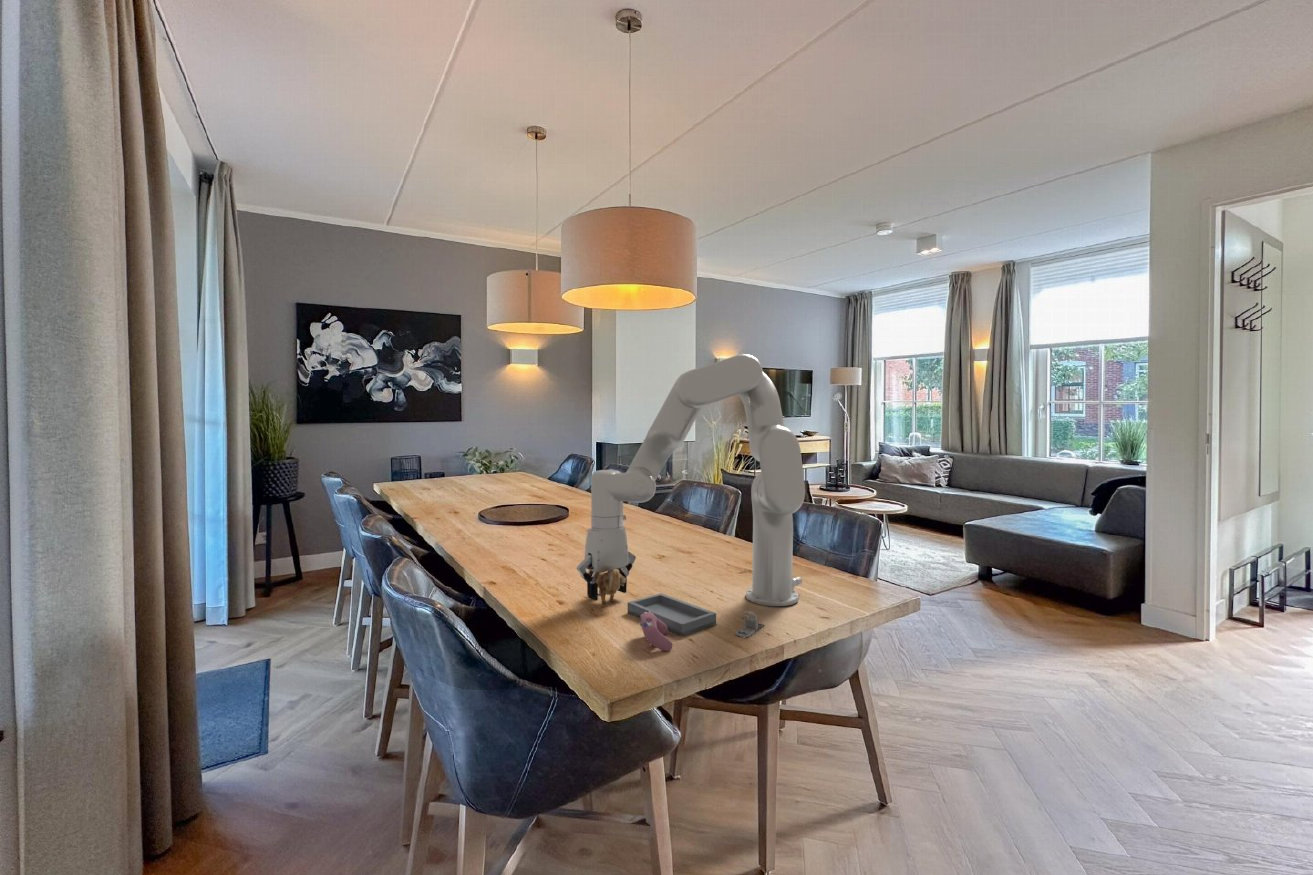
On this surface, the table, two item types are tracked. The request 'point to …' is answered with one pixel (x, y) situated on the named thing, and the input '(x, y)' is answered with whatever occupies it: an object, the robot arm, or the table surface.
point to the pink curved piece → (655, 631)
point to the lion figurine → (609, 584)
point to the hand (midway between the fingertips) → (607, 594)
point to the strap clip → (749, 626)
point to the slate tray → (674, 613)
